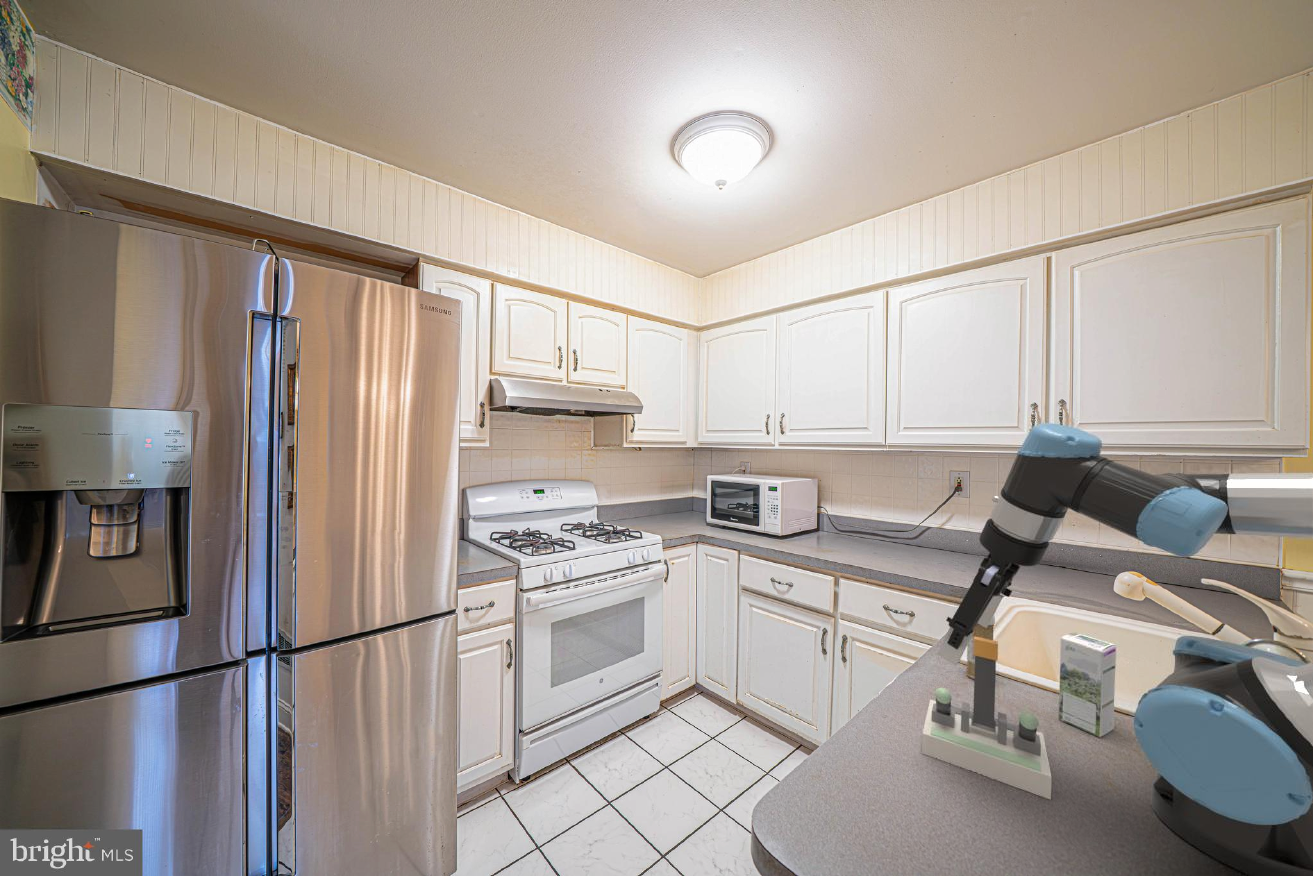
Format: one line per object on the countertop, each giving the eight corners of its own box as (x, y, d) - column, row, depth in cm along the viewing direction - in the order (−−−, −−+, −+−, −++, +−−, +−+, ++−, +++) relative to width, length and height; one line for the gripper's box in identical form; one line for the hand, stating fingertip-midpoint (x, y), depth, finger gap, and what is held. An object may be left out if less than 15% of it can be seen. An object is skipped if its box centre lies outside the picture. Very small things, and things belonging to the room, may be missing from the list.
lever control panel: (1042, 752, 72) (1043, 693, 72) (1050, 799, 62) (1052, 731, 63) (929, 716, 81) (931, 664, 81) (921, 753, 71) (923, 693, 71)
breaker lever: (995, 730, 72) (997, 641, 73) (995, 735, 70) (998, 644, 71) (971, 722, 73) (974, 636, 75) (971, 727, 72) (974, 639, 73)
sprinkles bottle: (996, 680, 95) (999, 613, 95) (986, 686, 92) (989, 617, 92) (971, 670, 99) (973, 606, 99) (961, 675, 96) (963, 610, 96)
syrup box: (1115, 729, 79) (1117, 643, 79) (1099, 739, 76) (1102, 649, 76) (1072, 712, 84) (1075, 630, 84) (1056, 720, 81) (1059, 636, 81)
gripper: (1014, 495, 78) (966, 596, 86) (958, 541, 62) (906, 659, 70) (1070, 518, 72) (1013, 622, 81) (1024, 574, 57) (959, 696, 65)
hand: (963, 639), depth 76 cm, fingers open, 13 cm apart
